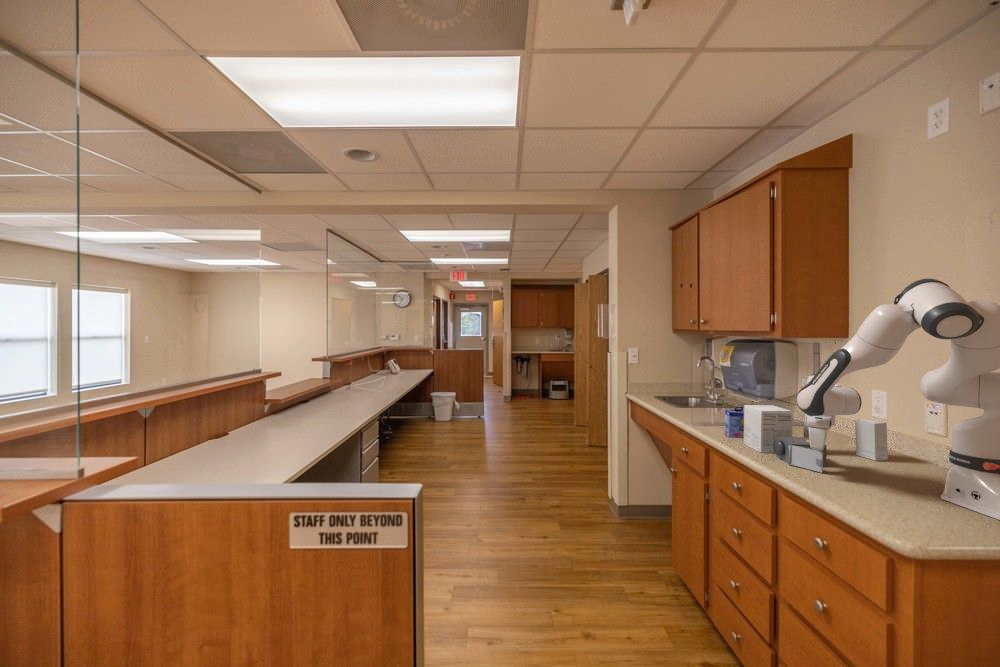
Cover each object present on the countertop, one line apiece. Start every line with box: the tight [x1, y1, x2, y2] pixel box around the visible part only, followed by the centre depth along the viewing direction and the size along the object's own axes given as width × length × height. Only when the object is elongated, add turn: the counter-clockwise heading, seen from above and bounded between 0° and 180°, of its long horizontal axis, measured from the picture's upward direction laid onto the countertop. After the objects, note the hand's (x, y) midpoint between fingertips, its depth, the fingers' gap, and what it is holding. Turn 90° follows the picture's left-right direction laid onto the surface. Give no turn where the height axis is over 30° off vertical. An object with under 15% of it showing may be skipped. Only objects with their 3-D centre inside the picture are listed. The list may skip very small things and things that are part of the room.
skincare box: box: [854, 418, 889, 462], centre depth 169 cm, size 8×6×15 cm
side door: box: [787, 445, 824, 473], centre depth 154 cm, size 1×11×7 cm, turn 31°
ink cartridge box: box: [724, 406, 744, 439], centre depth 200 cm, size 10×6×14 cm, turn 85°
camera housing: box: [773, 436, 827, 468], centre depth 164 cm, size 11×14×9 cm
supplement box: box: [743, 404, 794, 454], centre depth 180 cm, size 13×13×18 cm
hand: (818, 456), depth 153 cm, fingers closed
